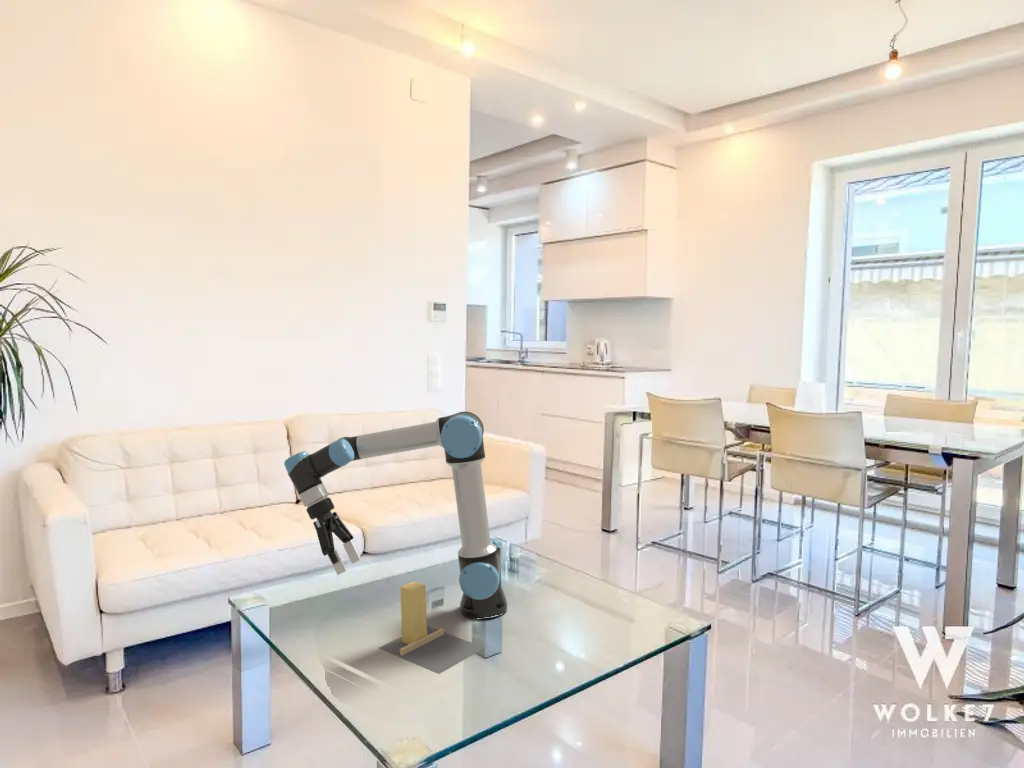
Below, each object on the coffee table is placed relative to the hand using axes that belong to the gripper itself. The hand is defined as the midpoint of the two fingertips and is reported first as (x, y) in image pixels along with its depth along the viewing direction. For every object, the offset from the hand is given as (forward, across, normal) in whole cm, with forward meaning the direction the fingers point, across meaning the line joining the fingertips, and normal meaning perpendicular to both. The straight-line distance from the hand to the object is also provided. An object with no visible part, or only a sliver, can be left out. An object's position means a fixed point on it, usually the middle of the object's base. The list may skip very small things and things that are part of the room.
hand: (349, 567), depth 191 cm
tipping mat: (+30, +7, +13) cm, 34 cm away
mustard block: (+27, +3, +8) cm, 28 cm away
